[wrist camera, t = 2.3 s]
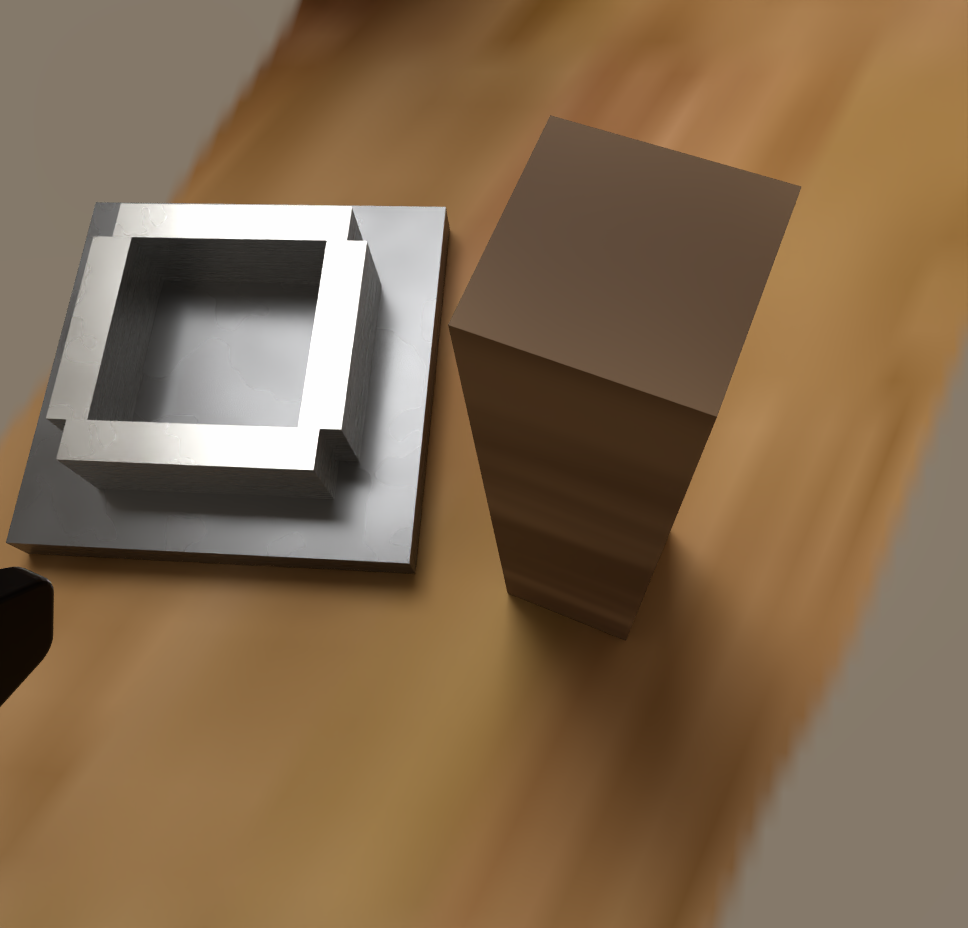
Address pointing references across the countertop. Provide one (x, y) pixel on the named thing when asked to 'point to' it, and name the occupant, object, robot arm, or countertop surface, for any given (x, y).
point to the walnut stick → (606, 355)
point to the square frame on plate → (242, 388)
